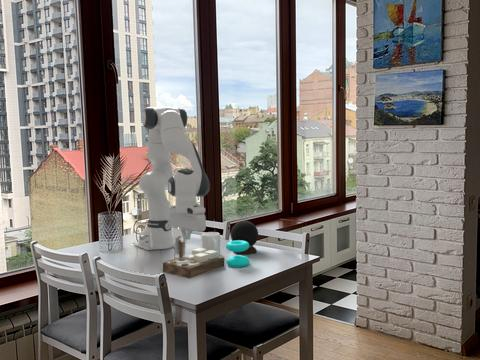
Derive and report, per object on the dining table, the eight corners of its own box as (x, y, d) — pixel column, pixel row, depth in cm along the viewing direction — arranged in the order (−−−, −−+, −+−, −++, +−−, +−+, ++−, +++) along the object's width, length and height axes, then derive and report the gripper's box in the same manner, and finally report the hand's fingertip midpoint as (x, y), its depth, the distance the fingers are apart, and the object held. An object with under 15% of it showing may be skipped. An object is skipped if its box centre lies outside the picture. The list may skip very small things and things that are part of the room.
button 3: (192, 258, 221) (192, 249, 221) (199, 256, 224) (199, 247, 224) (199, 260, 218) (199, 251, 218) (206, 258, 222) (206, 249, 221)
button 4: (203, 261, 217) (203, 252, 216) (211, 258, 220) (210, 249, 219) (211, 262, 214) (211, 253, 213) (218, 260, 217) (218, 251, 217)
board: (162, 271, 211) (162, 261, 211) (198, 260, 227) (197, 250, 227) (189, 278, 201) (188, 267, 200) (224, 266, 217) (224, 255, 216)
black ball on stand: (263, 253, 237) (262, 221, 235) (236, 256, 232) (235, 224, 230) (252, 247, 249) (251, 217, 247) (227, 250, 244) (226, 219, 243)
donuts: (253, 242, 216) (235, 246, 210) (254, 264, 217) (236, 269, 211) (239, 238, 224) (221, 242, 218) (240, 260, 225) (222, 264, 219)
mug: (225, 258, 229) (224, 236, 228) (207, 260, 227) (207, 238, 226) (217, 252, 241) (216, 231, 240) (200, 254, 238) (199, 233, 237)
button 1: (182, 265, 217) (182, 256, 216) (190, 263, 220) (189, 254, 220) (189, 267, 214) (189, 257, 213) (197, 264, 217) (196, 255, 217)
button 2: (194, 264, 212) (193, 255, 212) (201, 261, 215) (200, 252, 215) (201, 265, 209) (201, 256, 209) (208, 263, 213) (208, 254, 212)
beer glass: (181, 261, 227) (180, 228, 225) (169, 259, 231) (168, 227, 229) (191, 257, 233) (189, 225, 231) (179, 255, 237) (178, 224, 235)
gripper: (164, 205, 219) (165, 236, 220) (197, 211, 205) (197, 244, 207) (175, 203, 223) (175, 234, 225) (208, 209, 210) (208, 241, 212)
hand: (186, 239), depth 216 cm, fingers closed
